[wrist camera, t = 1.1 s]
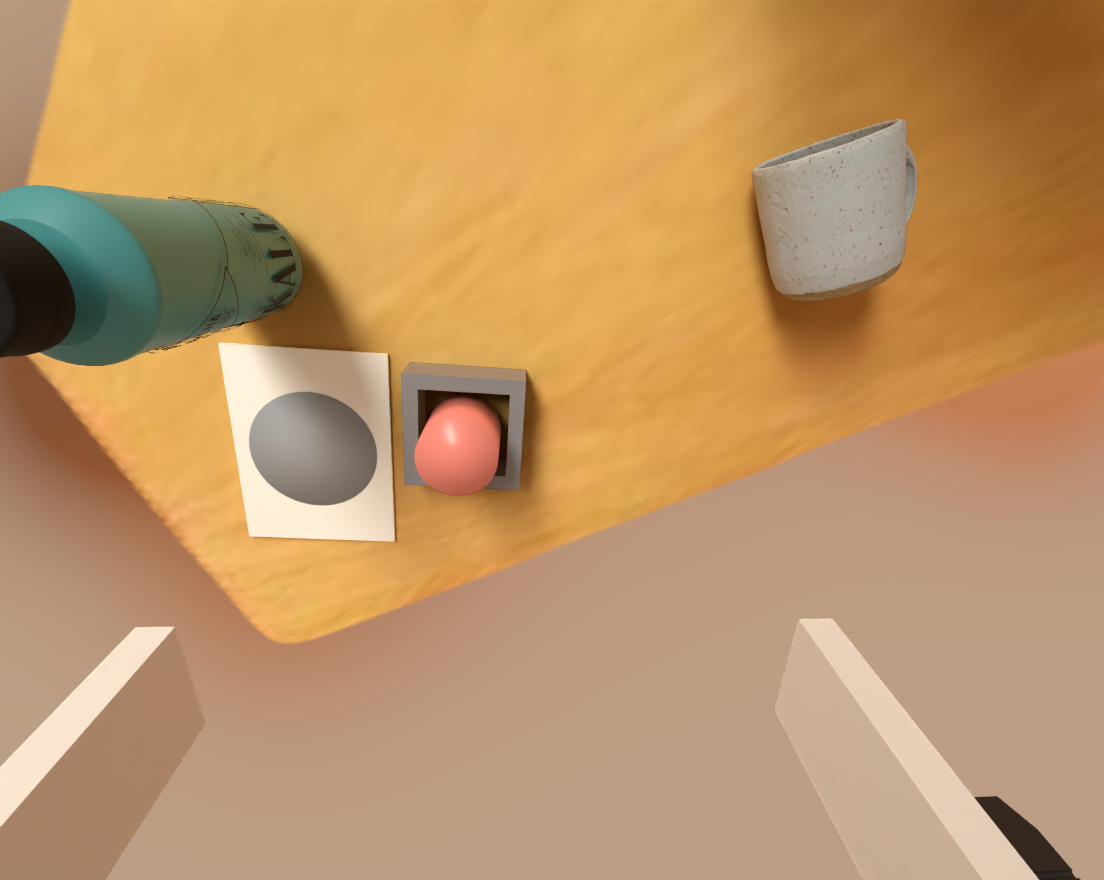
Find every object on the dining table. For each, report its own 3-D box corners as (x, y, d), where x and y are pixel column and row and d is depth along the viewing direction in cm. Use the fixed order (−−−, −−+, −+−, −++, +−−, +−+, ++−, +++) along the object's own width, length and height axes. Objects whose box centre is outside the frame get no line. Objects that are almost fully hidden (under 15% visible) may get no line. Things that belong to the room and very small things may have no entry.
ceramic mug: (755, 299, 35) (817, 316, 28) (729, 175, 32) (791, 158, 25) (906, 242, 35) (1008, 244, 28) (894, 109, 32) (1005, 72, 24)
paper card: (220, 342, 34) (218, 343, 34) (388, 353, 35) (387, 354, 35) (251, 534, 40) (249, 536, 40) (395, 539, 41) (394, 541, 41)
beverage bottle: (188, 257, 32) (-258, 292, 14) (252, 178, 31) (-148, 99, 12) (275, 333, 34) (-11, 452, 16) (339, 262, 33) (107, 302, 14)
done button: (427, 392, 34) (413, 417, 30) (502, 397, 35) (499, 422, 30) (428, 460, 36) (415, 493, 32) (499, 463, 37) (496, 497, 32)
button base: (410, 362, 36) (401, 373, 33) (525, 369, 36) (526, 381, 33) (412, 466, 39) (404, 484, 36) (519, 471, 39) (519, 490, 36)
